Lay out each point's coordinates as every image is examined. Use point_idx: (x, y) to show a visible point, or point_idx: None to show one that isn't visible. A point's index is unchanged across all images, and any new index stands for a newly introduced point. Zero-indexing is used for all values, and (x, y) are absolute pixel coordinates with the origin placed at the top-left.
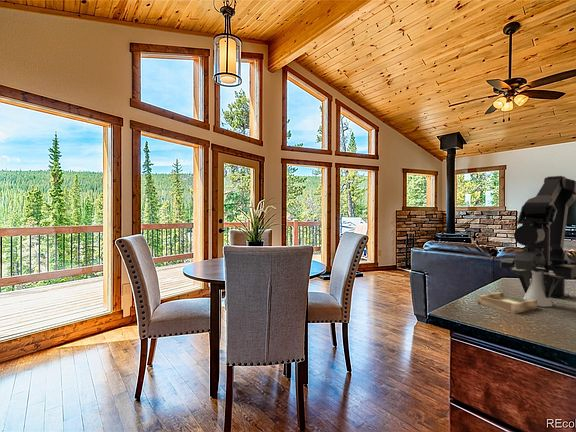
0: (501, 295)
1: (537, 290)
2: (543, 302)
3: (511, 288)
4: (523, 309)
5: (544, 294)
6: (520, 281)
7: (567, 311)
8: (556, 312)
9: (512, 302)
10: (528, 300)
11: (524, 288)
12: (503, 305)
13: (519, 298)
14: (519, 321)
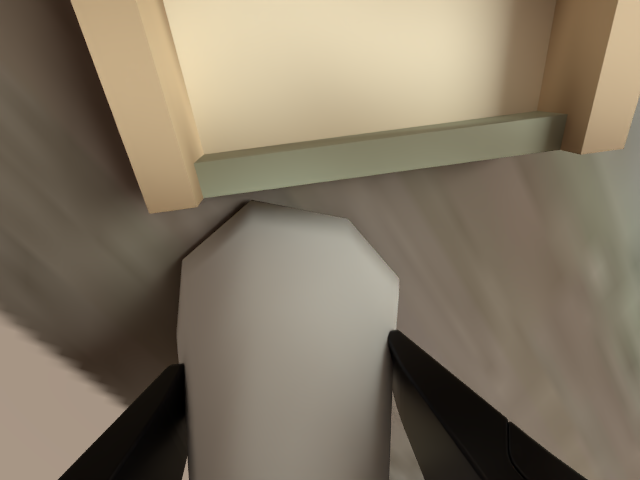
0: (559, 114)
1: (224, 375)
2: (184, 291)
3: (597, 466)
4: None
5: (189, 383)
6: (528, 436)
7: (50, 326)
8: (20, 217)
9: (354, 18)
10: (129, 41)
11: (420, 364)
12: None
13: (347, 151)
14: None
